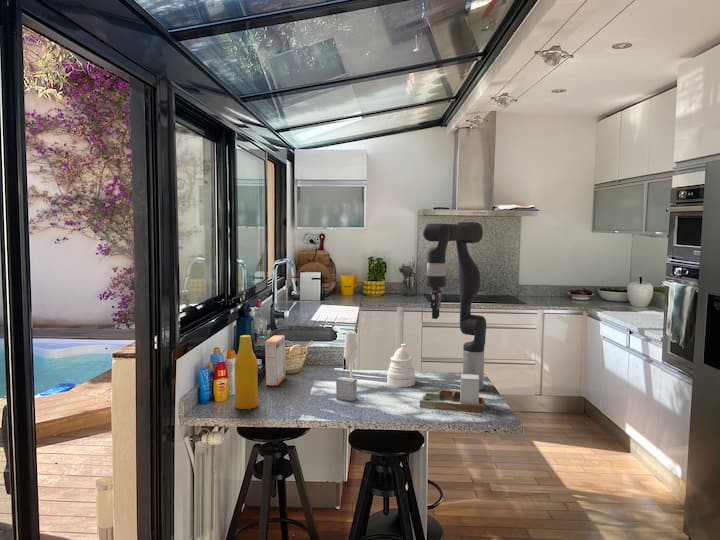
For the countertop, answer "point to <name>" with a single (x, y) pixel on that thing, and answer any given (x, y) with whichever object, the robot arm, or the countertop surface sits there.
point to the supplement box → (469, 389)
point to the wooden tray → (451, 397)
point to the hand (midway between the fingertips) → (435, 317)
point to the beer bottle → (246, 375)
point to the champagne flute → (351, 349)
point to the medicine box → (346, 389)
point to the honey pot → (401, 369)
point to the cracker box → (275, 360)
